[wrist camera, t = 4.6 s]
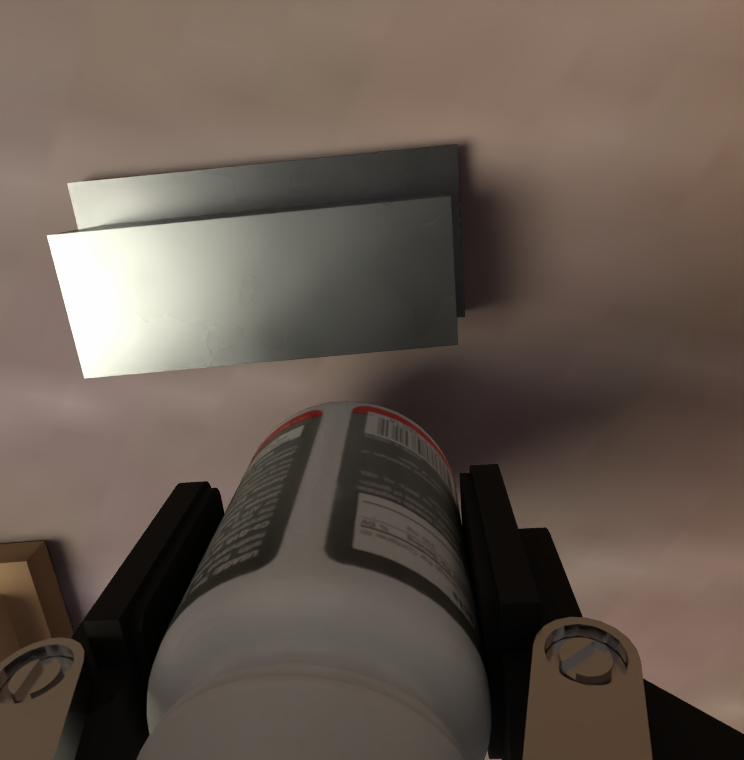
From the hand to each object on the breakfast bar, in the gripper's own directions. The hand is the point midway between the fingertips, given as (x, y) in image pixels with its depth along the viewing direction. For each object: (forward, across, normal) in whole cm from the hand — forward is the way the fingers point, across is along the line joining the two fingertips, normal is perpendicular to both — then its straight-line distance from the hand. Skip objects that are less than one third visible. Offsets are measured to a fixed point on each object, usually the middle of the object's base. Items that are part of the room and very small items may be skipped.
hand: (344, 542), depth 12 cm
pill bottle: (+2, 0, 0) cm, 2 cm away
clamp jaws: (+5, +2, 0) cm, 5 cm away
